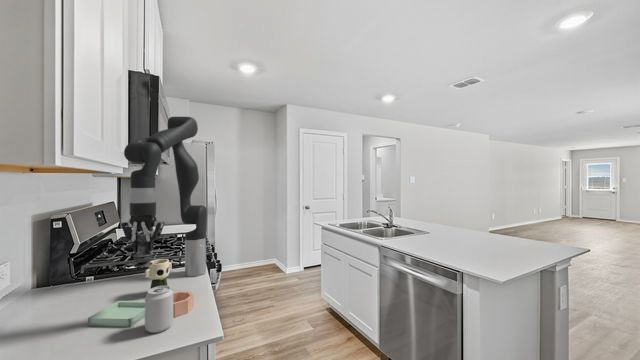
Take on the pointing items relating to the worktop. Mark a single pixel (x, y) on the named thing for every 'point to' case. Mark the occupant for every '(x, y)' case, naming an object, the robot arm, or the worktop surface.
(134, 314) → the tray
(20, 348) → the worktop surface
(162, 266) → the character mug
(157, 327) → the can
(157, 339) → the worktop surface
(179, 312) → the orange polygonal bowl
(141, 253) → the grey lumpy tower
